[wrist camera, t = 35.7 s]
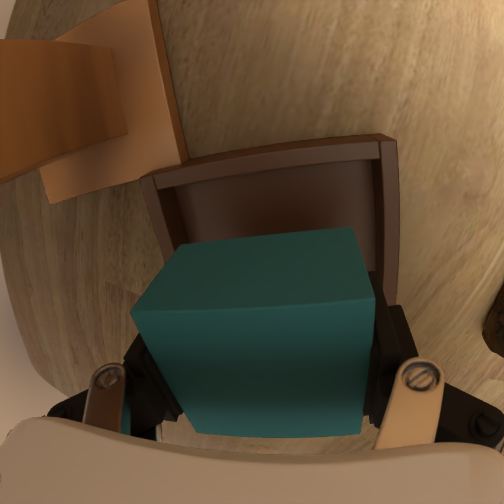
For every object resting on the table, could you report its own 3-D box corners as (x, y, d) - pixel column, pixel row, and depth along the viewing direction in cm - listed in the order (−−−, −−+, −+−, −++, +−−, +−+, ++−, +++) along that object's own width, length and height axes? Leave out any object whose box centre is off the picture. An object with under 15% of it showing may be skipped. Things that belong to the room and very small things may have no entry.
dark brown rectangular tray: (233, 393, 24) (227, 417, 22) (159, 165, 16) (137, 177, 13) (375, 386, 21) (378, 411, 19) (382, 133, 13) (396, 139, 11)
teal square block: (219, 361, 14) (196, 433, 10) (179, 243, 11) (128, 311, 7) (353, 355, 12) (360, 434, 9) (352, 225, 10) (376, 298, 6)
